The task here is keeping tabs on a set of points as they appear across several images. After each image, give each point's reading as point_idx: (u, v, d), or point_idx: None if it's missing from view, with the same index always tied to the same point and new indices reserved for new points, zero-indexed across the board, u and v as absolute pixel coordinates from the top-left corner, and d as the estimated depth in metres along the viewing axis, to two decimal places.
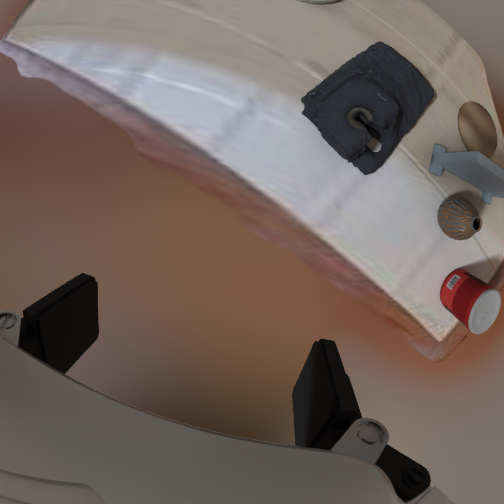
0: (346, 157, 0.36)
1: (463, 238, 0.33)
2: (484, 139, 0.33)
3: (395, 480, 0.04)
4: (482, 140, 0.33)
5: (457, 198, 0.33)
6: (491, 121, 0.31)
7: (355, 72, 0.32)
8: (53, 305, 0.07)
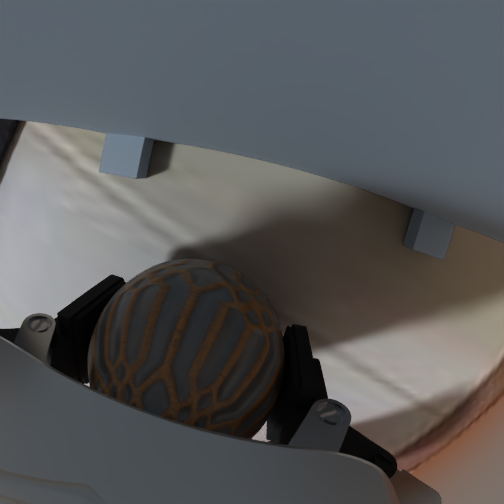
0: None
1: None
2: None
3: None
4: None
5: (135, 282, 0.08)
6: None
7: None
8: (88, 307, 0.08)
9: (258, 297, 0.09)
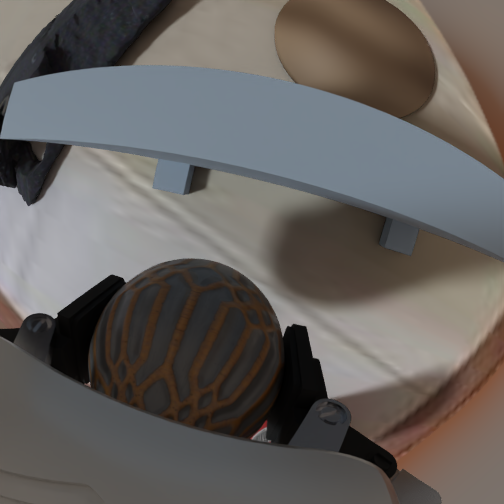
0: None
1: None
2: (382, 64, 0.13)
3: None
4: (374, 67, 0.13)
5: (136, 282, 0.08)
6: (409, 24, 0.11)
7: (36, 38, 0.12)
8: (88, 307, 0.08)
9: (258, 297, 0.09)
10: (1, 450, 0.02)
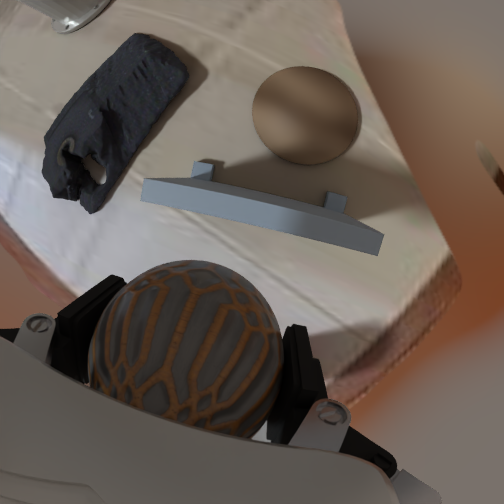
0: None
1: None
2: (318, 126, 0.25)
3: None
4: (312, 129, 0.25)
5: (135, 284, 0.08)
6: (342, 91, 0.24)
7: (83, 91, 0.24)
8: (88, 307, 0.08)
9: (257, 299, 0.09)
10: (1, 450, 0.02)
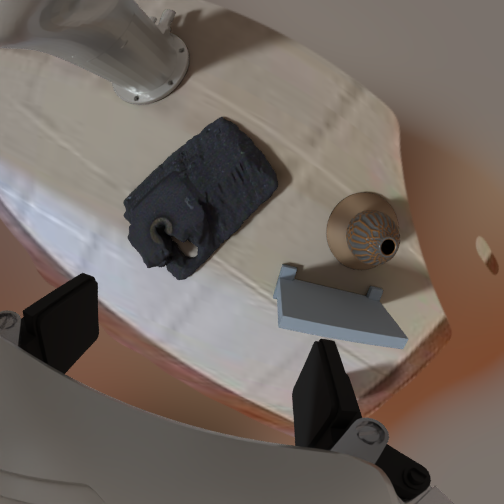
0: None
1: (374, 263, 0.31)
2: None
3: (395, 480, 0.04)
4: None
5: (368, 213, 0.31)
6: (391, 214, 0.35)
7: (172, 170, 0.35)
8: (53, 305, 0.07)
9: None
10: (1, 450, 0.02)
